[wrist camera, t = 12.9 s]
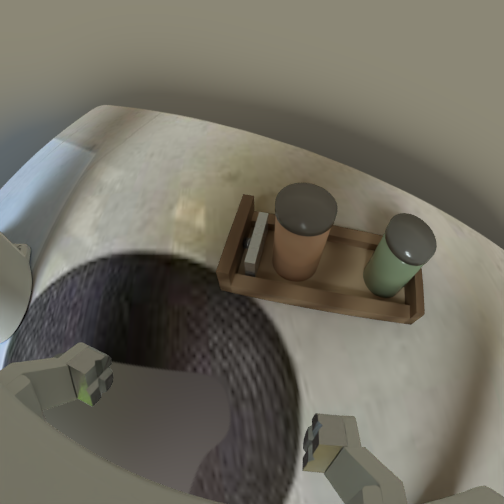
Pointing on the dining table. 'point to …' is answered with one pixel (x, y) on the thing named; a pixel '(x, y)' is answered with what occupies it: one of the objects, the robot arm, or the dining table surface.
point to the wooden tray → (317, 274)
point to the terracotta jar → (301, 229)
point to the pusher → (255, 245)
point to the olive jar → (399, 255)
